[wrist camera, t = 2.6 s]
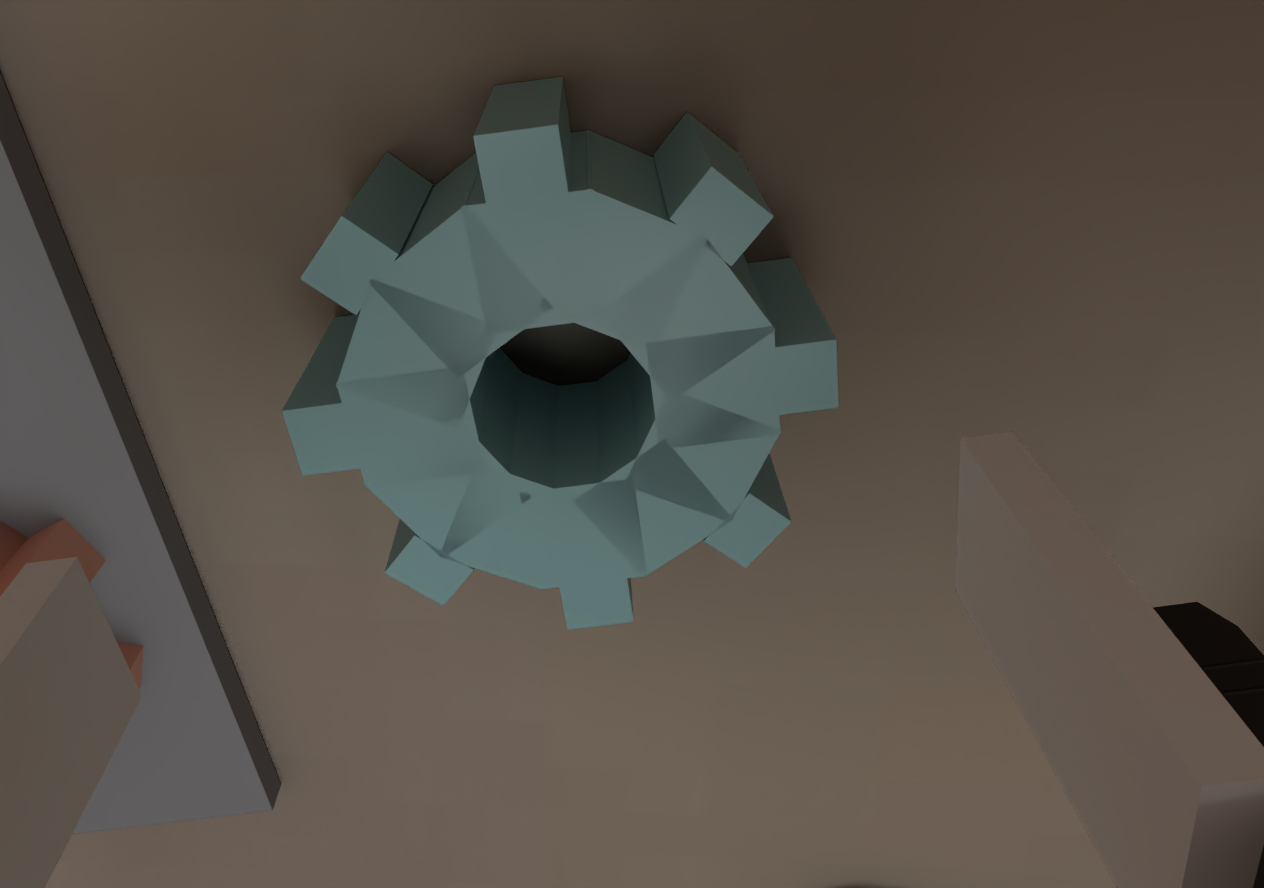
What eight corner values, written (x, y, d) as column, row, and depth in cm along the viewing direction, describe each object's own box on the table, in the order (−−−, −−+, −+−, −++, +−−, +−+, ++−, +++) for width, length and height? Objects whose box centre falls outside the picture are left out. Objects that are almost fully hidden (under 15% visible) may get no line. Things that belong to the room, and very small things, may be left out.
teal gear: (278, 114, 23) (206, 171, 18) (780, 47, 23) (828, 88, 18) (394, 533, 28) (359, 655, 24) (802, 482, 28) (844, 595, 23)
